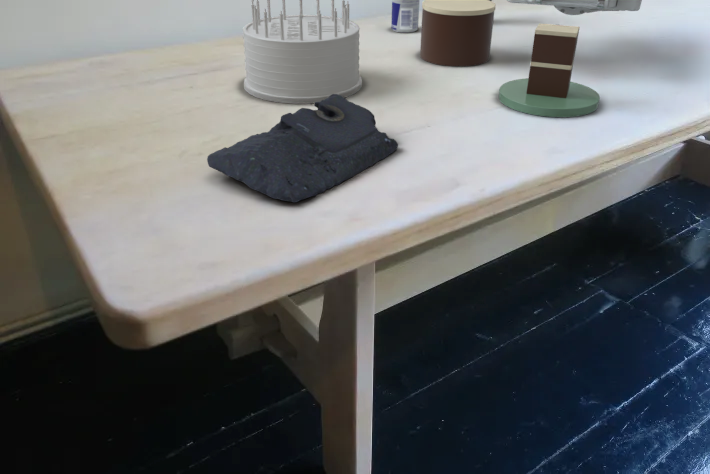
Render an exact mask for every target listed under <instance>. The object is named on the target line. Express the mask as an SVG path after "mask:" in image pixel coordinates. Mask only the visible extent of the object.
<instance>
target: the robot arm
mask: <svg viewBox="0 0 710 474" xmlns="http://www.w3.org/2000/svg"><path fill="white" fill-rule="evenodd" d="M506 1H507V2H508V3H511V4H522V5H523V4H525V5H526V4H527V5H536V6H553V7H554V8H555V9H556V10H557V11H558V12H560V13H562V14H565V15H567V16H568V15H569V16H581V15H583V14H585V13H586V14H591V13H596V12H626V11H627V12H638V11H640V9H641V7H642V2H643V0H506Z"/></svg>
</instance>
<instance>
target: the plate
mask: <svg viewBox="0 0 710 474" xmlns="http://www.w3.org/2000/svg"><path fill="white" fill-rule="evenodd" d="M528 78H529V77H528ZM528 78H518V79H513V80H510V81H507V82H505V83H503V84H501V85H500V87H499V89H498V91H499V92H498V100H499V102H500V103H501V104H503V105H504V106H505V107H507V108H509V109H511V110H514V111H517V112H520V113H524V114H529V115H533V116H538V117H539V116H540V117H548V118H571V117H581V116H585V115H586V116H587V115H588V114H589V115H590V114H591V113H594V112H595V111H597V110H598V109H599V105H600V100H601V97H600V94H599V93H598V91H596V90H595V89H593V88H592V87H589V86H587V85H584V84H581V83H578V82H574V81H570V86H569V91H568V94H567V97H566V98H559V97H550V96H542V95H533V94H527V86H528Z"/></svg>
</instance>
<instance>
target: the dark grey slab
mask: <svg viewBox="0 0 710 474" xmlns="http://www.w3.org/2000/svg"><path fill="white" fill-rule="evenodd" d="M313 104H314V107H315V108H317V109H311V108H308V107H307V108H306V107H301V108H299V109H297V110H296V111H295V112H294V113H292V112H288V113H285V114H282V115H281V116H280V121H279V122H278V123H276V124H275V125H274V126H273V127H271V128H270V129H269V131H267V132H266V131H265V132H264V131H263V132H261V133H256V134H252V135H250V136H248V137H247V138H244V139H242V140H240V141H237V142H236V143H234V144H233V145H231V146H228V147H223V148H220V149H219V150H216V151H214V152H212V153H209V155H208V156H207V158H206V161H207V165H208V167H209V168H211V169H212V170H216V171H218V172H220V173H222V174H224V175H225V176H227V177H230V178H233V179H234V180H235V181H239V182H242V183H244V184H245V185H246V186H247V187H248V188H250V189H252V190H254V191H257V192H259V193H261V194H264V195H265V196H268V197H270V198H272V199H275V200H281V201H283V202H291V203H298V202H300V201H302V200H306V199H307V198H312V197H316V196H317V195H319V194H321V193H324V192H325V191H326V190H329V189H332V188H333V187H334V186H338V185H340V184H342V183H343V182H344V181H347V180H349V179H351V178H353V177H355V175H357V174H359V173H361V172H362V171H365V170H367V169H368V168H369V167H372V166H374V164H376V163H379V161H381V160H384V159H385V158H387V157H389V156H390V154H393V153H394V152H395V151H397V149H398V147H399V144H398V142H397V141H396V140H395V139H394V138H391V137H389V136H388V134H387V133H386V132H381V131H380V130H379V129H378V128H377V126H376V125H377V121H376V119H375V114H373V112H371V110H369V109H368V108H366V107H364V106H362V105H359V104H356V103H354V102H352V101H349V100H348V99H346V97H345V98H343V97H342V96H341V95H338V94H332V95H330V96H329V97H328V98H326V99H324V100H322V101H320V102H315V103H313Z"/></svg>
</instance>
